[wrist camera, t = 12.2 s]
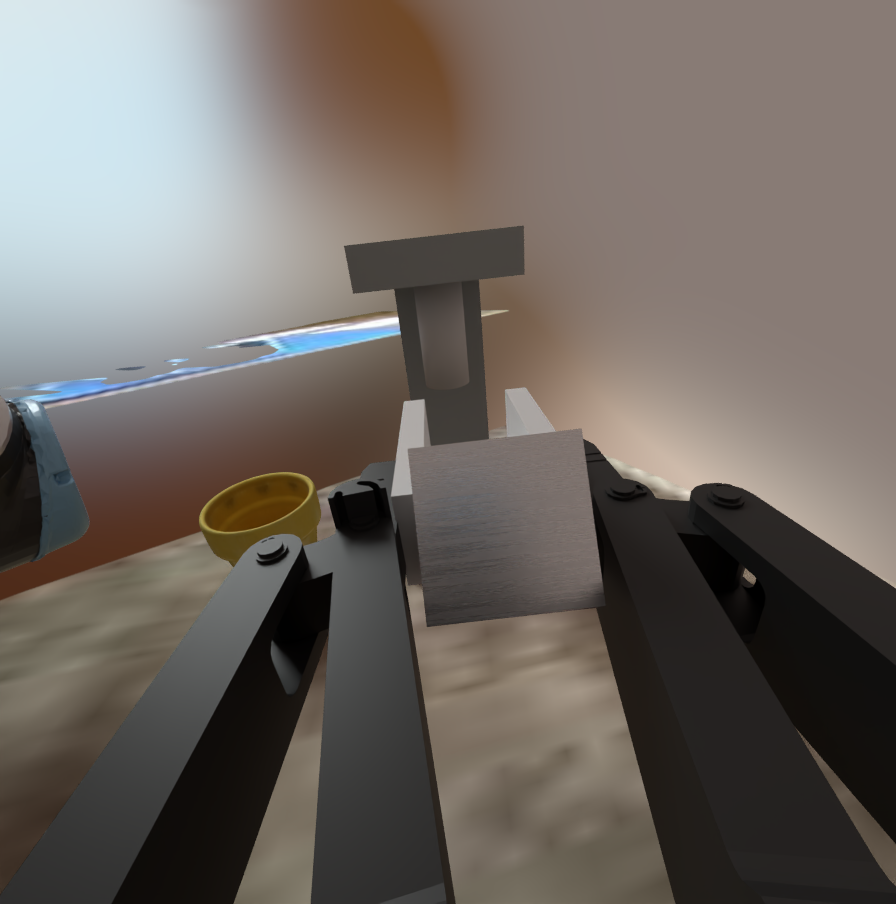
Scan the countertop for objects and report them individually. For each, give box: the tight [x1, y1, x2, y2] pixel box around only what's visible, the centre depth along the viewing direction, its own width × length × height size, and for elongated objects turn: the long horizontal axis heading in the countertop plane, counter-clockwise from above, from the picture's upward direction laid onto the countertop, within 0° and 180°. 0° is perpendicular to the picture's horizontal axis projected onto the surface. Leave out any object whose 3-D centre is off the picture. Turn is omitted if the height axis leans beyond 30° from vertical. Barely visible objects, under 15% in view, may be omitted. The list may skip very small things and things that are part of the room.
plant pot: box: [199, 472, 321, 567], centre depth 42 cm, size 10×10×10 cm
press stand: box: [344, 226, 524, 446], centre depth 42 cm, size 12×17×30 cm
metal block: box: [408, 429, 606, 627], centre depth 17 cm, size 6×20×4 cm
